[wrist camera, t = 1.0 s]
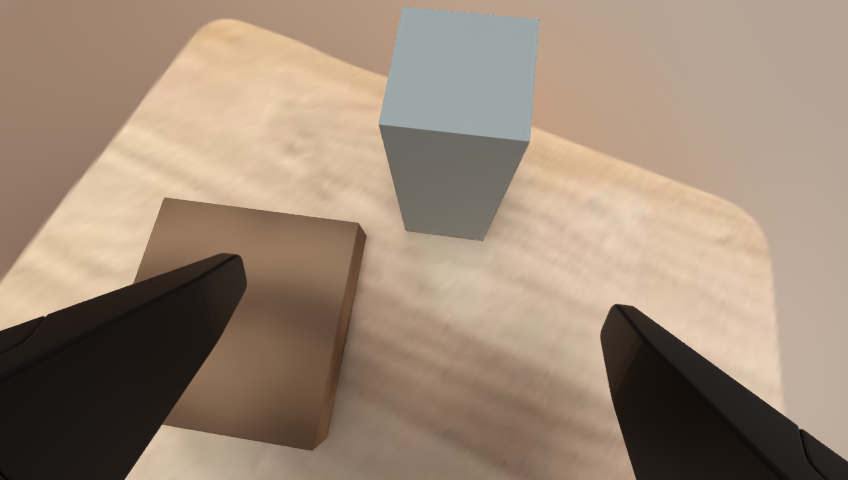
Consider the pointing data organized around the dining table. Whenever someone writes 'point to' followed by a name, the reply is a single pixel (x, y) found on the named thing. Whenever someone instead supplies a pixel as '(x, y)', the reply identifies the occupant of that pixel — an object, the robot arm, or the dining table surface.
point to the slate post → (457, 116)
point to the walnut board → (265, 318)
